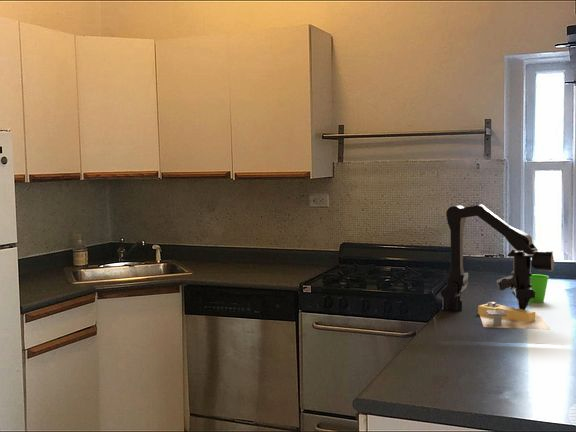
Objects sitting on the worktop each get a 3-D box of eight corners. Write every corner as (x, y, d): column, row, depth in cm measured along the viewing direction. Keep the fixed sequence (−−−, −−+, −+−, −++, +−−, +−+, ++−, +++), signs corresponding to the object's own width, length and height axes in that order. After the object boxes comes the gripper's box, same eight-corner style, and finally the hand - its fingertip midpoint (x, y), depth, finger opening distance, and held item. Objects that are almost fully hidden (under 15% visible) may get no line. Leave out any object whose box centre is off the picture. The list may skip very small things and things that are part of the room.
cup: (533, 307, 265) (533, 278, 264) (519, 302, 274) (519, 274, 273) (553, 305, 268) (554, 277, 267) (539, 301, 276) (539, 273, 276)
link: (537, 319, 240) (537, 311, 240) (526, 322, 236) (526, 314, 235) (488, 311, 254) (488, 303, 254) (478, 314, 250) (478, 305, 250)
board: (483, 329, 231) (483, 326, 231) (478, 313, 255) (478, 310, 255) (550, 332, 227) (550, 329, 227) (537, 315, 251) (538, 312, 251)
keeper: (506, 326, 231) (507, 315, 230) (488, 326, 232) (488, 314, 231) (504, 321, 238) (504, 310, 237) (486, 321, 239) (486, 310, 238)
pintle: (487, 314, 249) (488, 303, 249) (487, 312, 252) (487, 301, 252) (496, 314, 249) (496, 303, 248) (495, 312, 252) (495, 301, 251)
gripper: (495, 265, 254) (495, 307, 255) (501, 273, 236) (501, 318, 237) (527, 265, 252) (526, 307, 253) (535, 273, 234) (535, 319, 235)
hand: (521, 313), depth 245 cm, fingers closed
